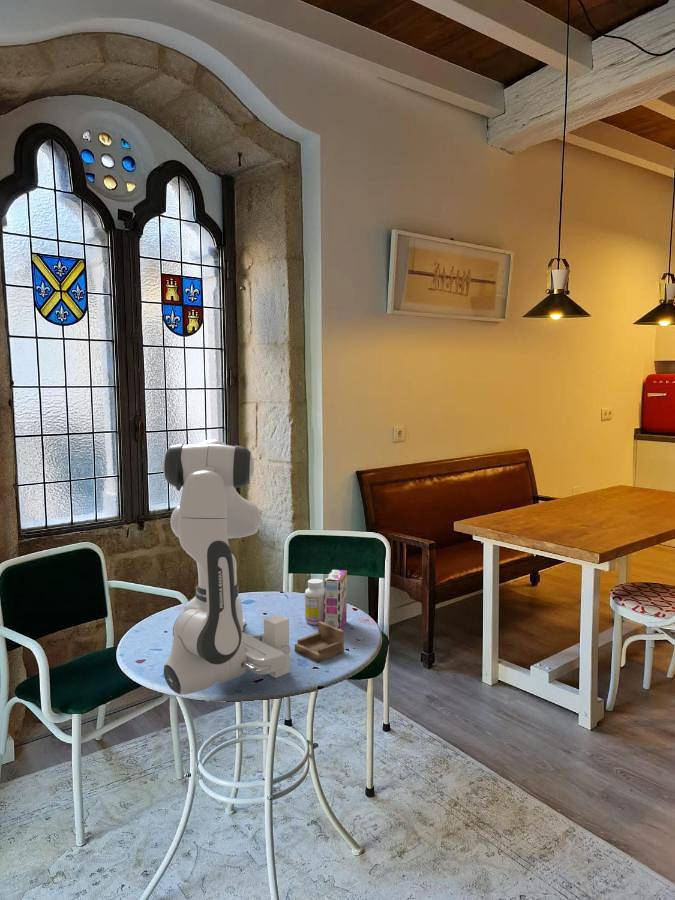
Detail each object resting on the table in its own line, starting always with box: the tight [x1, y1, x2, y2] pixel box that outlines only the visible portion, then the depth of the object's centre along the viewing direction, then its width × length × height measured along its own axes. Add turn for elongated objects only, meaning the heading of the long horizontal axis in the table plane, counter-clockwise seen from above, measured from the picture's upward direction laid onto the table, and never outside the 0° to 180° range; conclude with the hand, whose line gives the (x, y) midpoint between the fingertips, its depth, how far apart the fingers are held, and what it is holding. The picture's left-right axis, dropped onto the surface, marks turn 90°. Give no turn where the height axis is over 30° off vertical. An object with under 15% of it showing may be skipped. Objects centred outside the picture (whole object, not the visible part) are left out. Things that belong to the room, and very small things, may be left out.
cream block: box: [263, 614, 291, 679], centre depth 160 cm, size 4×5×14 cm
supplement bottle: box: [304, 578, 324, 626], centre depth 195 cm, size 7×7×13 cm
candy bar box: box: [323, 569, 348, 630], centre depth 189 cm, size 11×5×16 cm, turn 168°
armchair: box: [294, 621, 345, 663], centre depth 173 cm, size 10×10×6 cm
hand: (277, 642), depth 160 cm, fingers open, 8 cm apart
